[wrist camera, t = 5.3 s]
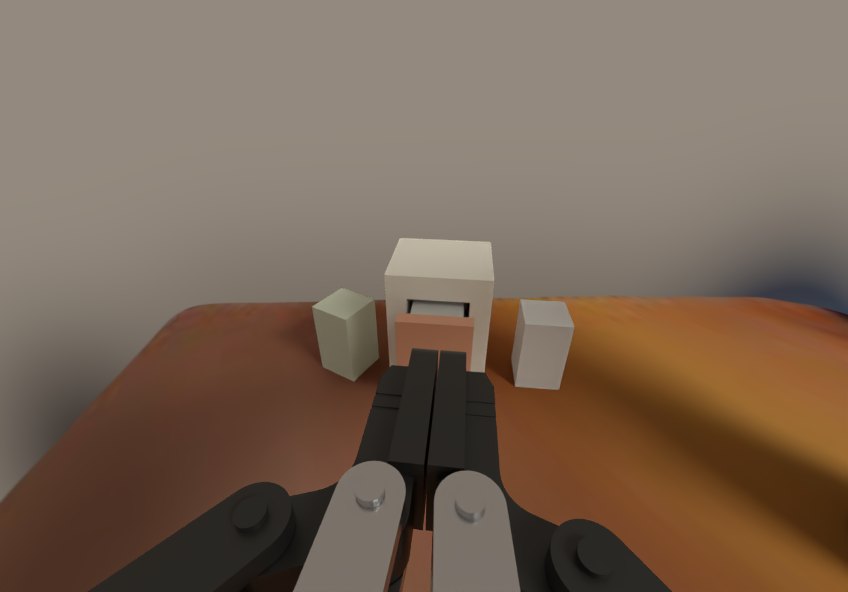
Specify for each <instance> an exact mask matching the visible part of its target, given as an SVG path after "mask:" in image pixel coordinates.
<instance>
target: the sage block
mask: <svg viewBox="0 0 848 592" xmlns="http://www.w3.org/2000/svg"><path fill="white" fill-rule="evenodd" d="M312 310H313V316H314V322H315V327H316V333H317V338H318V344H319V350H320V355H321V361H322V366H323V367H324V368H326V369H328V370H330V371H332V372H334V373H336V374H339V375H341V376H343V377H345V378H347V379H349V380H351V381H353V382H354V381H355V380H356V379H357V378H358V377H359V376H360V375H361V374H362V373H364V372H365V371H366V370H367V369H368V368H369V367H370V366H371V365H372V364H373V363H374V362H375V361H377V360H378V359H379V349H378V336H377V323H376V310H375V299H373V298H370V297H367V296H364V295H361V294H359V293H356V292H353V291H350V290H347V289H344V288H341V289H339V290H338V291H336V292H335V293H333V294H331V295H330V296H328V297H327V298H325V299H323V300H322V301H320V302H318V303H317V304H315V305H314V306H312Z"/></svg>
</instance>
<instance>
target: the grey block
mask: <svg viewBox="0 0 848 592" xmlns="http://www.w3.org/2000/svg"><path fill="white" fill-rule="evenodd" d="M574 328H575V327H574V324H573V322H572V319H571V317H570V314H569V312H568V309H567V306H566V304H565V302H555V301H538V300H521V299H520V305H519V312H518V318H517V325H516V331H515V338H514V344H513V351H512V357H511V361H512V368H513V376H514V384H515V387H527V388H540V389H552V390H559V387H560V384H561V380H562V376H563V372H564V368H565V364H566V360H567V356H568V352H569V348H570V344H571V340H572V336H573V332H574Z"/></svg>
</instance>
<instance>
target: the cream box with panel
mask: <svg viewBox="0 0 848 592" xmlns="http://www.w3.org/2000/svg"><path fill="white" fill-rule="evenodd" d="M384 280H385V297H386V314H387V331H388V348H389V364H390V367H391V365H397V351H396V329H395V321H396V317H397V314H398V313H406V314H410V312H411V308H412V305H413V301H414V300H431V301H448V302H464V317H469V318H474V334H473V345H472V357H471V369H470V371H472V372H484V371H485V362H486V353H487V344H488V335H489V326H490V317H491V308H492V299H493V290H494V271H493V262H492V251H491V242H479V241H478V242H477V241H456V240H433V239H411V238H400V239H399V242H398V244H397V246H396V249H395V251H394V253H393V256H392V258H391V261H390V263H389V265H388V267H387V270H386V272H385V274H384Z"/></svg>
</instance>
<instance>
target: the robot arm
mask: <svg viewBox="0 0 848 592" xmlns="http://www.w3.org/2000/svg"><path fill="white" fill-rule="evenodd" d="M466 355H467V354H466V352H459V351H446V350H440V358H439V367H438V350H432V349H419V348H412V351H411V355H410V360H409V365H408V366H397V365H391V367H390V368H389V369H388V370H387V371H386V372H385V373H384V374H383V375H382V376H381V377H380V381H379V384H378V387H377V391H376V396H375V397H374V401H373V404H372V409H371V411H370V414H369V417H368V421H367V424H366V427H365V431H364V434H363V437H362V441H361V444H360V447H359V451H358V454H357V457H356V460H355V463H354V464H353V466H352V468H351V469H349V470H348V471H347V472H346V473H345V474H344V475H343V476H342V477H341V479H340V480H339V481H338V482H337V483H335V484H333V485H331V486H329V487H327V488H325V489H321V490H317V491H313V492H308V493H303V494H299V495H294V496H289V495H288V493H287V491H286V490H285V489H284V488H283V487H281V486H280V485H277V484H275V483H270V482H260V483H255V484H251V485H248V486H246V487H244V488H242V489H240V490H238V491H237V492H235V493H234V494H232V495H231V496H229V497H228V498H226V499H225V500H223V501H222V502H220V503H219V504H217V505H216V506H214V507H213V508H211V509H210V510H208V511H207V512H205V513H204V514H202V515H201V516H200V517H198V518H197V519H195V520H194V521H192V522H191V523H189V524H188V525H186V526H185V527H183V528H182V529H180V530H179V531H177V532H176V533H174V534H173V535H171V536H170V537H168V538H167V539H165V540H164V541H162V542H161V543H159V544H158V545H156V546H155V547H154V548H152V549H151V550H149V551H148V552H146V553H145V554H143V555H142V556H140V557H139V558H137V559H136V560H134V561H133V562H131V563H130V564H128V565H127V566H125V567H124V568H122V569H121V570H119V571H118V572H116V573H115V574H113V575H112V576H110V577H109V578H108V579H106V580H105V581H103V582H102V583H100V584H99V585H97V586H96V587H94V588H93V589H91V590H90V591H88V592H402V590H403V585H404V580H405V575H406V570H407V563H408V561H409V556H410V549H411V541H412V533H413V529H419V530H423V523H424V514H425V504H426V530H429V531H433V536H432V560H431V592H672V591H671V590H670V589H669V588H668V587H667V586H666V585H665V584H664V583H663V582H662V581H661V580H660V579H659V578H658V577H657V576H656V575H655V574H654V573H653V572H652V571H651V570H650V569H649V568H648V567H647V566H646V565H645V564H644V563H643V562H642V561H641V560H640V559H639V558H638V557H637V556H636V555H635V554H634V553H633V552H632V551H631V550H630V549H629V548H628V547H627V546H626V545H625V544H624V543H623V542H622V541H621V540H620V539H619V538H618V537H617V536H616V535H614V534H613V533H612V532H611V531H610V530H608V529H607V528H605V527H603V526H602V525H600V524H598V523H595V522H593V521H589V520H585V519H573V520H569V521H566V522H564V523H562V524H561V525H560V526H557V525H555V524H553V523H551V522H548V521H546V520H544V519H542V518H539V517H537V516H535V515H533V514H531V513H529V512H527V511H525V510H524V509H523V508H521V507H520V506H519V505H517V504H516V503H515V502H514V501H513V500H512V498H511V497H510V496H509V495H508V493H507V492H506V490H505V488H504V486H503V484H502V481H501V477H500V469H499V455H498V440H497V426H496V412H495V398H494V387H493V385H492V383H491V382H490V380H489V379H488V377H487V375H486V374H485V373H484V372H472V371H466ZM426 495H427V500H426Z"/></svg>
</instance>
